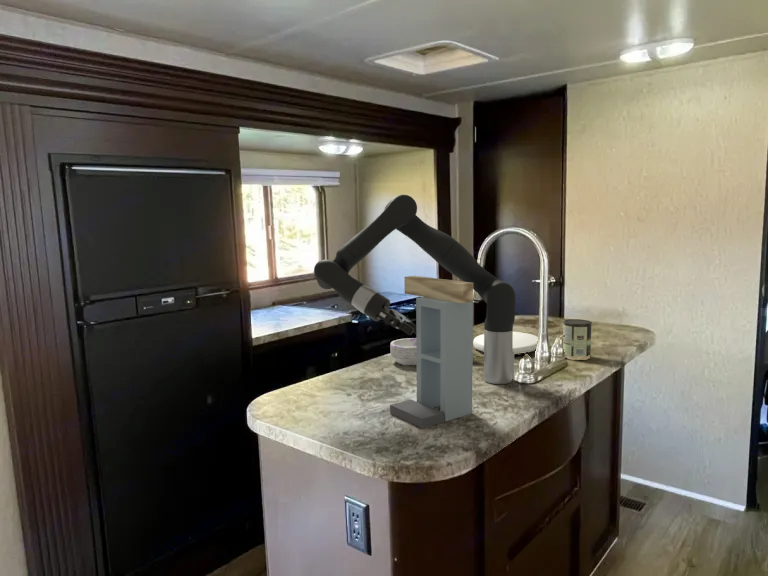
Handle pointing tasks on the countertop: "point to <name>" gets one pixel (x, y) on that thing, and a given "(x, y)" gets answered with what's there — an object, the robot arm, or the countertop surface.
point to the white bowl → (404, 351)
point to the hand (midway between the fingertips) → (415, 332)
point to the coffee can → (577, 337)
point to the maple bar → (439, 289)
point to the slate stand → (444, 355)
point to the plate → (520, 342)
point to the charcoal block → (417, 413)
